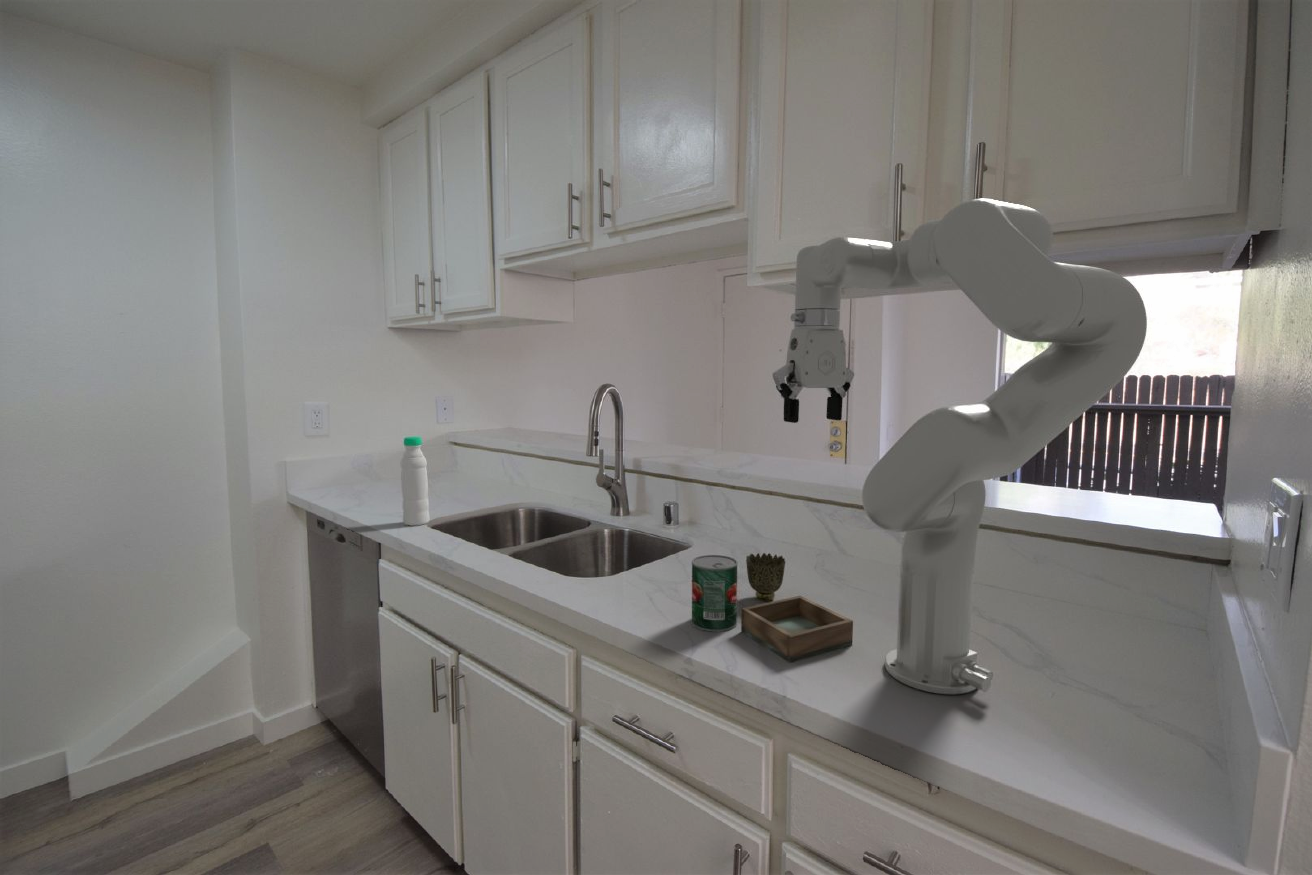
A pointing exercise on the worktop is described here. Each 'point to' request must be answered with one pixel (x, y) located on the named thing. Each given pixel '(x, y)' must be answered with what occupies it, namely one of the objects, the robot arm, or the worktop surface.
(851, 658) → the worktop surface
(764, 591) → the olive textured bell shape
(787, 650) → the walnut box
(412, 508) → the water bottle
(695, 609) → the canned tomato
